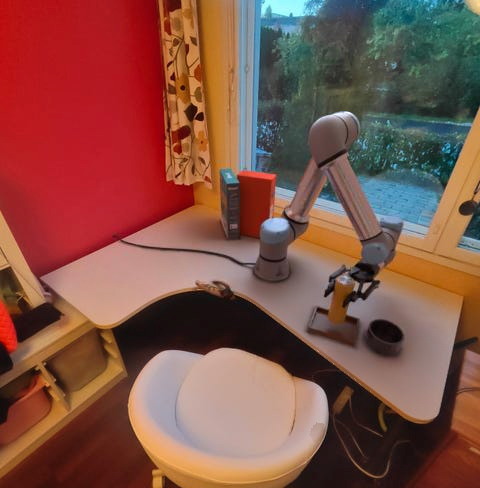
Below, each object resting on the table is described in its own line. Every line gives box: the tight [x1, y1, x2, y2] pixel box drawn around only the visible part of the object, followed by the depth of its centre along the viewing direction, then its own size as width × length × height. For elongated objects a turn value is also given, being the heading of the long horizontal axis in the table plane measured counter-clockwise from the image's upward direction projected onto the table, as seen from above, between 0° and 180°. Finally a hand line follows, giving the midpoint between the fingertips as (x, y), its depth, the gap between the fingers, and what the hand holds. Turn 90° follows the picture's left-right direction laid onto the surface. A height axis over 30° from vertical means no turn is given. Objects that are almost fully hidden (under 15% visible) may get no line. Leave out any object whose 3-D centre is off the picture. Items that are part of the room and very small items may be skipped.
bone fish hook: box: [195, 279, 236, 301], centre depth 113 cm, size 9×5×18 cm
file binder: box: [236, 169, 277, 239], centre depth 145 cm, size 8×17×32 cm, turn 68°
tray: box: [307, 305, 360, 348], centre depth 98 cm, size 15×12×2 cm
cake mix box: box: [218, 168, 240, 240], centre depth 149 cm, size 22×6×30 cm, turn 12°
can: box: [328, 276, 356, 324], centre depth 92 cm, size 6×6×16 cm
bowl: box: [364, 318, 405, 357], centre depth 92 cm, size 10×10×6 cm
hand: (334, 299), depth 87 cm, fingers closed on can, 6 cm apart
